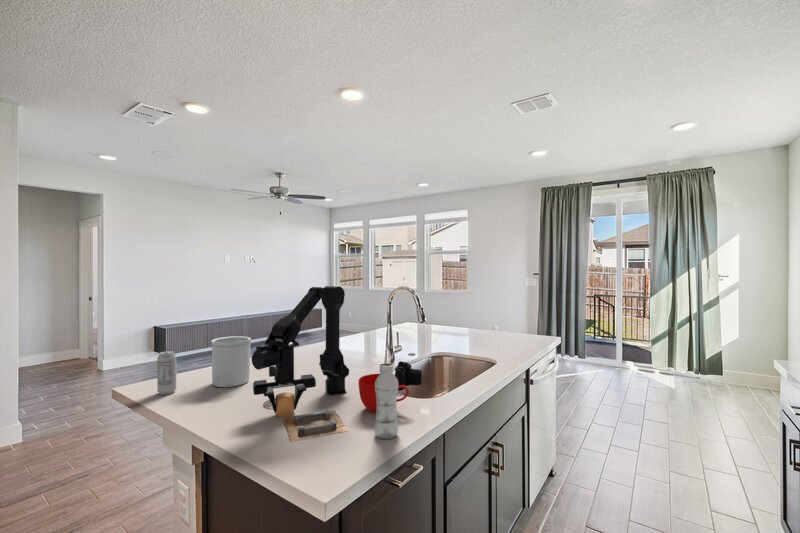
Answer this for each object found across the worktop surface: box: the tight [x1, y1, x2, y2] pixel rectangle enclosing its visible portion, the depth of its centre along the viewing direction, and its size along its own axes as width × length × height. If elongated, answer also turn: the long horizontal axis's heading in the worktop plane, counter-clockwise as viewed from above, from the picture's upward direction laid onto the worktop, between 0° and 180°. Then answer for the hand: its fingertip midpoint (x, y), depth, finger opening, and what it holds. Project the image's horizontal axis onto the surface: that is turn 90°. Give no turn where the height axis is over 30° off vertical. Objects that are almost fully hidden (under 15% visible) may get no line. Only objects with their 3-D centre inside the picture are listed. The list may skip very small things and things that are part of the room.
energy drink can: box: [156, 350, 177, 396], centre depth 139 cm, size 6×6×15 cm
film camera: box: [394, 361, 423, 391], centre depth 147 cm, size 15×10×9 cm, turn 168°
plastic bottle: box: [373, 362, 399, 440], centre depth 103 cm, size 6×7×20 cm
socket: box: [283, 410, 349, 443], centre depth 110 cm, size 16×16×2 cm
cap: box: [275, 392, 295, 418], centre depth 119 cm, size 6×6×6 cm
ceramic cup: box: [358, 373, 409, 414], centre depth 122 cm, size 13×17×10 cm
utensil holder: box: [210, 335, 252, 388], centre depth 152 cm, size 15×15×18 cm
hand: (284, 410), depth 119 cm, fingers closed on cap, 6 cm apart
